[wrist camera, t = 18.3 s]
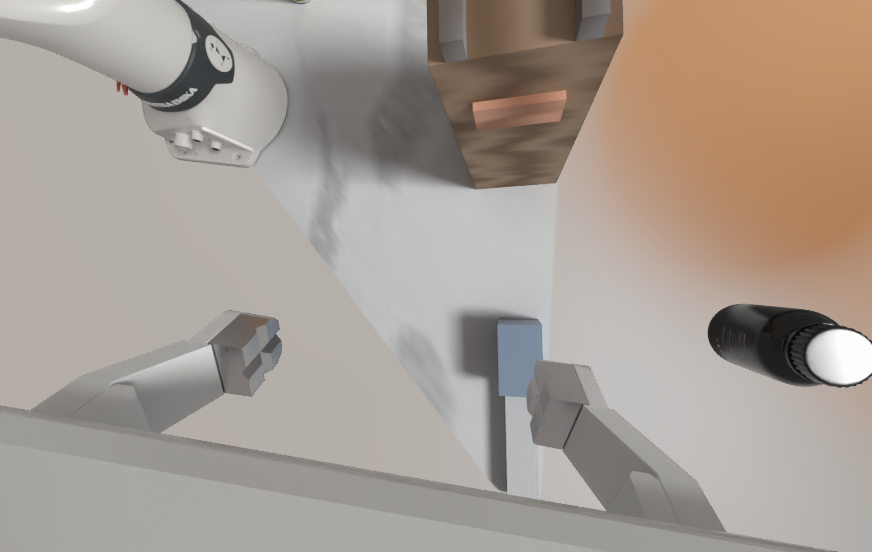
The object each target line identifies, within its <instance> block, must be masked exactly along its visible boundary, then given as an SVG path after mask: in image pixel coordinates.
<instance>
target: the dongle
mask: <svg viewBox="0 0 872 552" xmlns="http://www.w3.org/2000/svg"><path fill="white" fill-rule="evenodd" d="M497 334H498V378H499V396H505V413H506V457H507V494H510V495H515V496H521V497H527V498H532V499H538V500H539V498H538V458H537V445H536V444H533V440H532V434H531V428H530V422H531V419H532V416H531V414H530V413H529V412H528V410H527V401H526V396H527V388H528V384H529V381H530V379H532V378H533V377H535V375H534V370H533V368H534V366H535V363H536V361H537V360H538V359H540V360H543V356H542V325H541V323H540V322H539V320H538V319H499V321H498V324H497Z"/></svg>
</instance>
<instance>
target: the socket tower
mask: <svg viewBox="0 0 872 552" xmlns="http://www.w3.org/2000/svg"><path fill="white" fill-rule="evenodd" d="M622 36H623V5H622V0H427V41H428V67H429V70H430V73H431V75H432V78H433V80H434V83H435V85H436V88H437V90H438V93H439V96H440V98H441V101H442V103H443V106H444V108H445V111H446V114H447V116H448V119H449V121H450V124H451V126H452V129H453V131H454V134H455V137H456V139H457V142H458V144H459V147H460V149H461V152H462V155H463V157H464V160H465V162H466V165H467V167H468V170H469V172H470V175H471V178H472V180H473V183H474V185H475V188H476V189H486V188H499V187H511V186H524V185H537V184H549V183H556V182H557V180H558V178H559V176H560V173H561V171H562V169H563V167H564V164H565V162H566V160H567V158H568V155H569V153H570V151H571V149H572V147H573V144H574V142H575V140H576V138H577V135H578V133H579V131H580V129H581V127H582V124H583V122H584V120H585V118H586V116H587V113H588V111H589V109H590V107H591V105H592V102H593V100H594V98H595V96H596V93H597V91H598V89H599V87H600V84H601V82H602V80H603V78H604V76H605V74H606V71H607V69H608V67H609V65H610V62H611V60H612V58H613V55H614V54H615V51H616V49H617V47H618V44H619V43H620V40H621V38H622Z"/></svg>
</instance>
